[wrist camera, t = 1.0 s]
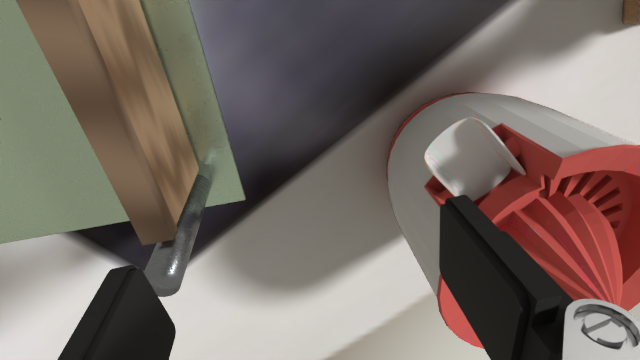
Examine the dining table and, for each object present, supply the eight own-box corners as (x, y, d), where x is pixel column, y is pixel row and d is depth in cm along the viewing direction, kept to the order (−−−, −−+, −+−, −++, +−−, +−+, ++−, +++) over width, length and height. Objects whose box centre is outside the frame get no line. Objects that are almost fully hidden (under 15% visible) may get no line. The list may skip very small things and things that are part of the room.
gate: (70, -106, 21) (-75, -175, 12) (102, -111, 21) (-19, -182, 12) (179, 172, 31) (142, 245, 22) (201, 169, 31) (173, 239, 22)
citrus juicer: (456, 17, 28) (743, 59, 11) (542, 146, 36) (795, 293, 18) (323, 144, 33) (380, 318, 15) (425, 236, 40) (541, 425, 23)
